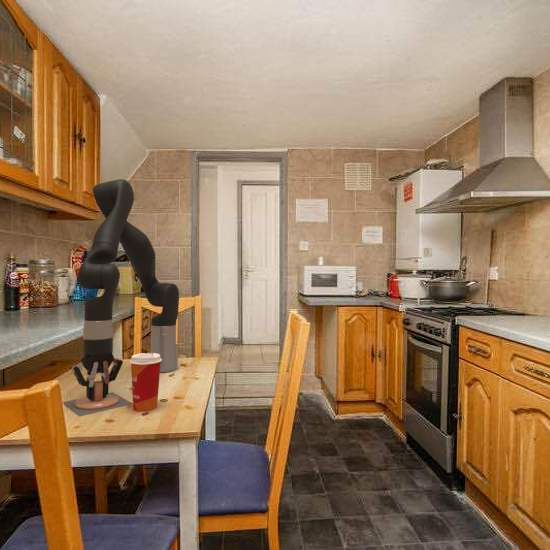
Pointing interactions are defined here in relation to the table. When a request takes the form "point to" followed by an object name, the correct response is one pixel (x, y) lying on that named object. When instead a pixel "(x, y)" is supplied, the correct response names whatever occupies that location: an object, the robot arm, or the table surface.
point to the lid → (97, 399)
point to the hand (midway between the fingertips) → (97, 398)
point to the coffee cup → (145, 381)
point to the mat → (85, 412)
